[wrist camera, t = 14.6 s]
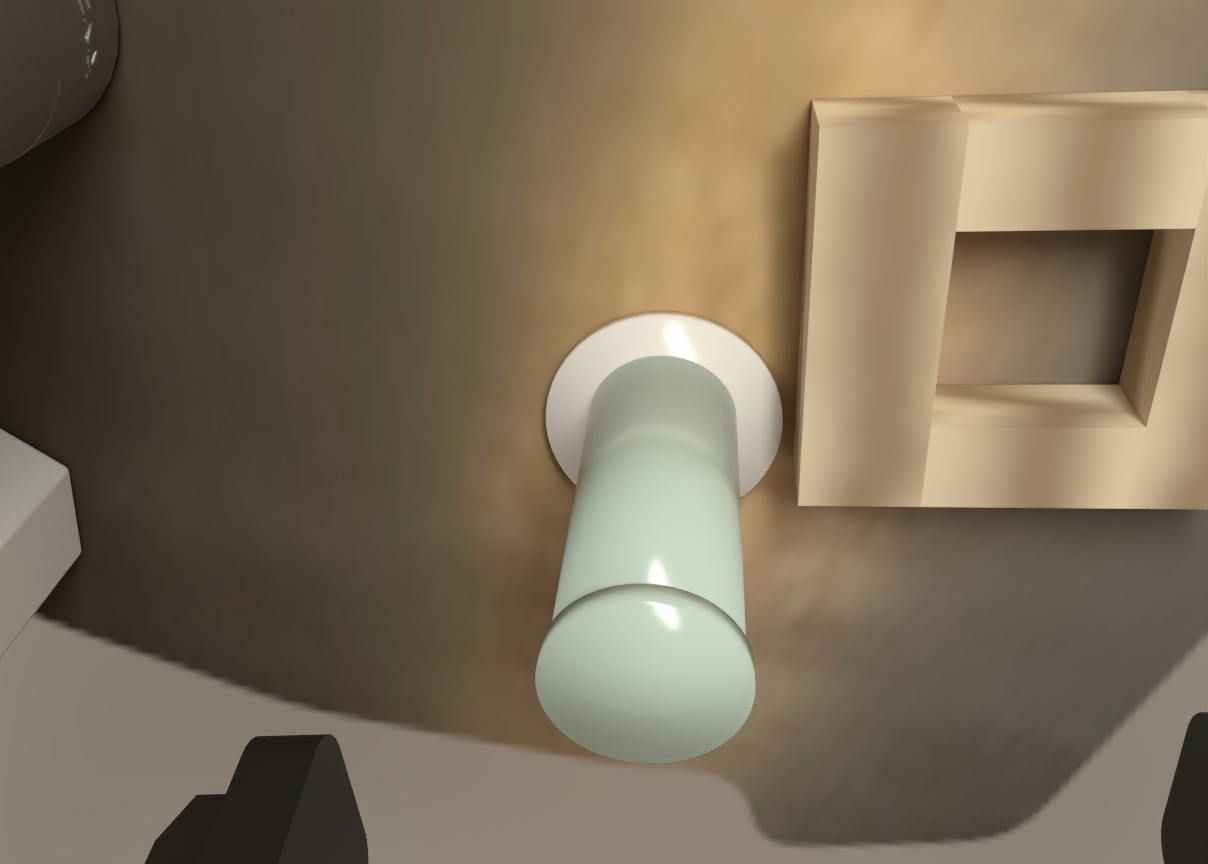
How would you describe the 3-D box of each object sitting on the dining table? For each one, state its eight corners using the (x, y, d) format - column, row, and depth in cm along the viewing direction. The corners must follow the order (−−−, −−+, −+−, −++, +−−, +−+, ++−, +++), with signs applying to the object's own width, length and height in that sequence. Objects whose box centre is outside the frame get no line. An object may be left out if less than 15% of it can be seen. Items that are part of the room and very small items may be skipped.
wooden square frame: (792, 460, 43) (798, 506, 41) (811, 99, 36) (819, 126, 33) (1222, 463, 42) (1255, 509, 39) (1333, 86, 34) (1383, 114, 32)
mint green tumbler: (591, 521, 45) (548, 801, 33) (578, 351, 41) (525, 601, 29) (740, 522, 44) (751, 808, 32) (743, 350, 40) (758, 604, 28)
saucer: (555, 510, 45) (554, 519, 45) (538, 311, 41) (536, 318, 40) (777, 512, 45) (778, 521, 44) (786, 309, 40) (787, 317, 39)
